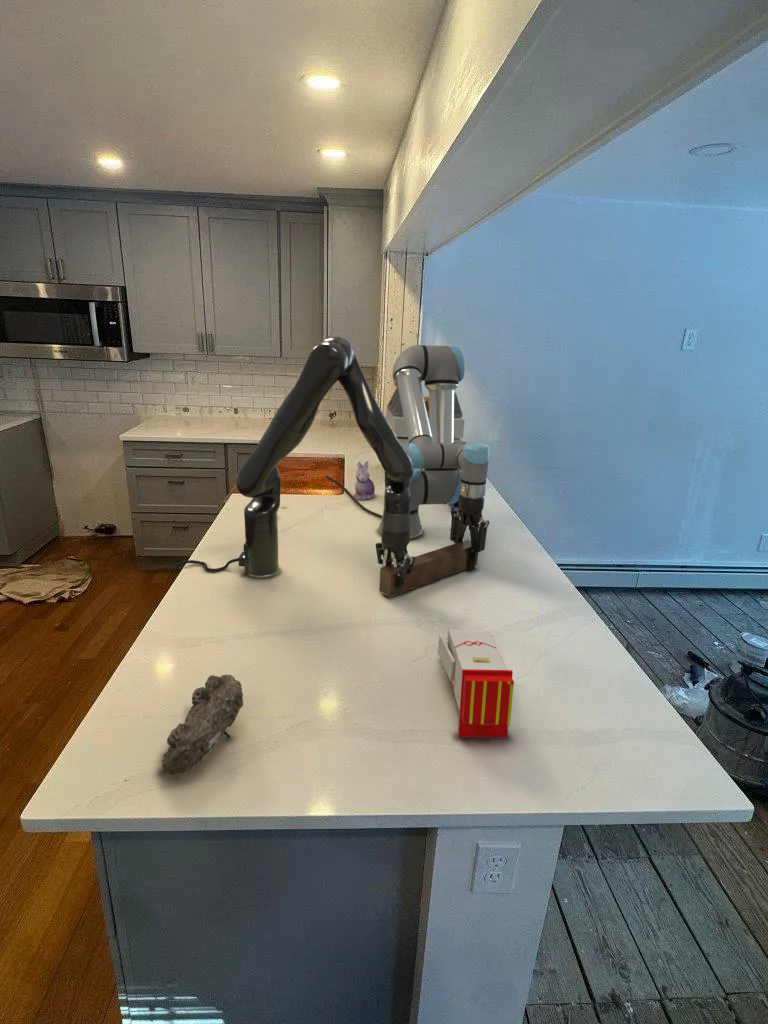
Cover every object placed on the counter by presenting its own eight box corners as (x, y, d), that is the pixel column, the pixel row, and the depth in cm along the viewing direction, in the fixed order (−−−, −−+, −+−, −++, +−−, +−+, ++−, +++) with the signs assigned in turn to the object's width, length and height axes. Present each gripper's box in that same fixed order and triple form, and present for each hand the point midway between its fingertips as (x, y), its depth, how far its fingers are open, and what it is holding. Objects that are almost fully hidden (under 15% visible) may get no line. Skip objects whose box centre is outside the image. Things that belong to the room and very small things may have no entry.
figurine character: (465, 515, 224) (460, 499, 237) (467, 498, 221) (462, 483, 234) (448, 515, 224) (444, 499, 237) (450, 498, 220) (445, 482, 234)
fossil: (189, 675, 113) (243, 642, 108) (223, 706, 116) (276, 676, 111) (136, 768, 93) (198, 733, 88) (177, 802, 96) (240, 771, 91)
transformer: (382, 463, 289) (386, 382, 275) (445, 464, 293) (451, 384, 279) (390, 482, 257) (394, 392, 243) (460, 483, 261) (468, 394, 247)
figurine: (359, 501, 230) (360, 466, 225) (349, 494, 239) (349, 459, 234) (379, 499, 235) (381, 464, 230) (369, 491, 243) (370, 458, 238)
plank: (389, 597, 154) (391, 573, 151) (379, 590, 157) (380, 568, 155) (476, 564, 176) (479, 543, 174) (466, 559, 179) (468, 539, 177)
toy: (488, 613, 130) (523, 677, 101) (484, 667, 133) (517, 744, 104) (435, 612, 130) (455, 676, 101) (432, 666, 133) (451, 743, 103)
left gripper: (368, 521, 153) (366, 578, 159) (403, 537, 143) (400, 597, 149) (389, 515, 158) (386, 571, 164) (424, 531, 148) (420, 589, 154)
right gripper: (441, 490, 172) (436, 560, 180) (486, 506, 160) (478, 580, 168) (458, 486, 177) (452, 554, 185) (503, 501, 164) (494, 573, 172)
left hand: (393, 583), depth 156 cm, fingers closed on plank, 4 cm apart
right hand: (464, 566), depth 176 cm, fingers closed on plank, 5 cm apart
